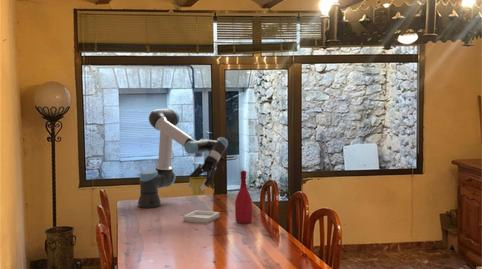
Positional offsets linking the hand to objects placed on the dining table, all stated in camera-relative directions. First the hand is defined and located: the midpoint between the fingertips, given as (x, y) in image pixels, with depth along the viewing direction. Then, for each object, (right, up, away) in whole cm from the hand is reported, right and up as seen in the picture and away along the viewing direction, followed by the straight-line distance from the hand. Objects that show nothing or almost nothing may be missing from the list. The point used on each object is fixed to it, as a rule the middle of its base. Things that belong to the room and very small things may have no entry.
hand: (194, 188), depth 308 cm
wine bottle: (+29, -19, -8) cm, 36 cm away
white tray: (+4, -18, -1) cm, 19 cm away
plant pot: (+2, -4, +3) cm, 5 cm away
